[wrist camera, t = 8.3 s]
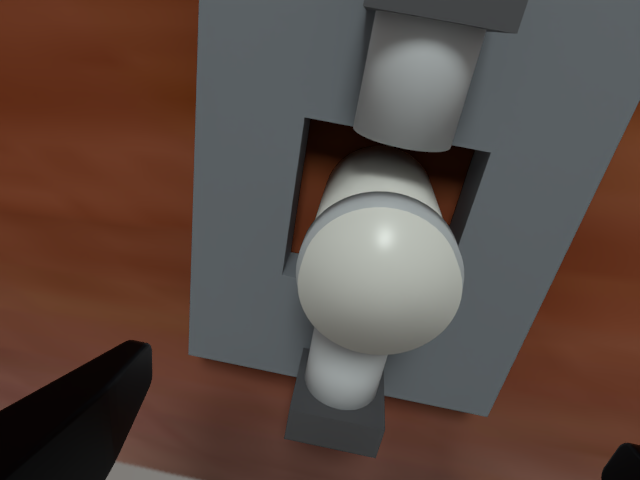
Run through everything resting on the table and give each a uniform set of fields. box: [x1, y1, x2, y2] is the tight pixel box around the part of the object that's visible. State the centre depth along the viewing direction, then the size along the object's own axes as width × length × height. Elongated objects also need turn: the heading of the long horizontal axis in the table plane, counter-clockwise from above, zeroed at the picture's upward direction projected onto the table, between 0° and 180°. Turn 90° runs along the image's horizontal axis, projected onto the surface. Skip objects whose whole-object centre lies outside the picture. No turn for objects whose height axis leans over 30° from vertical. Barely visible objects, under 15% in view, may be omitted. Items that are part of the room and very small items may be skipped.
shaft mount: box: [189, 0, 640, 458], centre depth 16 cm, size 17×14×6 cm
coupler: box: [296, 146, 464, 355], centre depth 15 cm, size 5×5×7 cm
